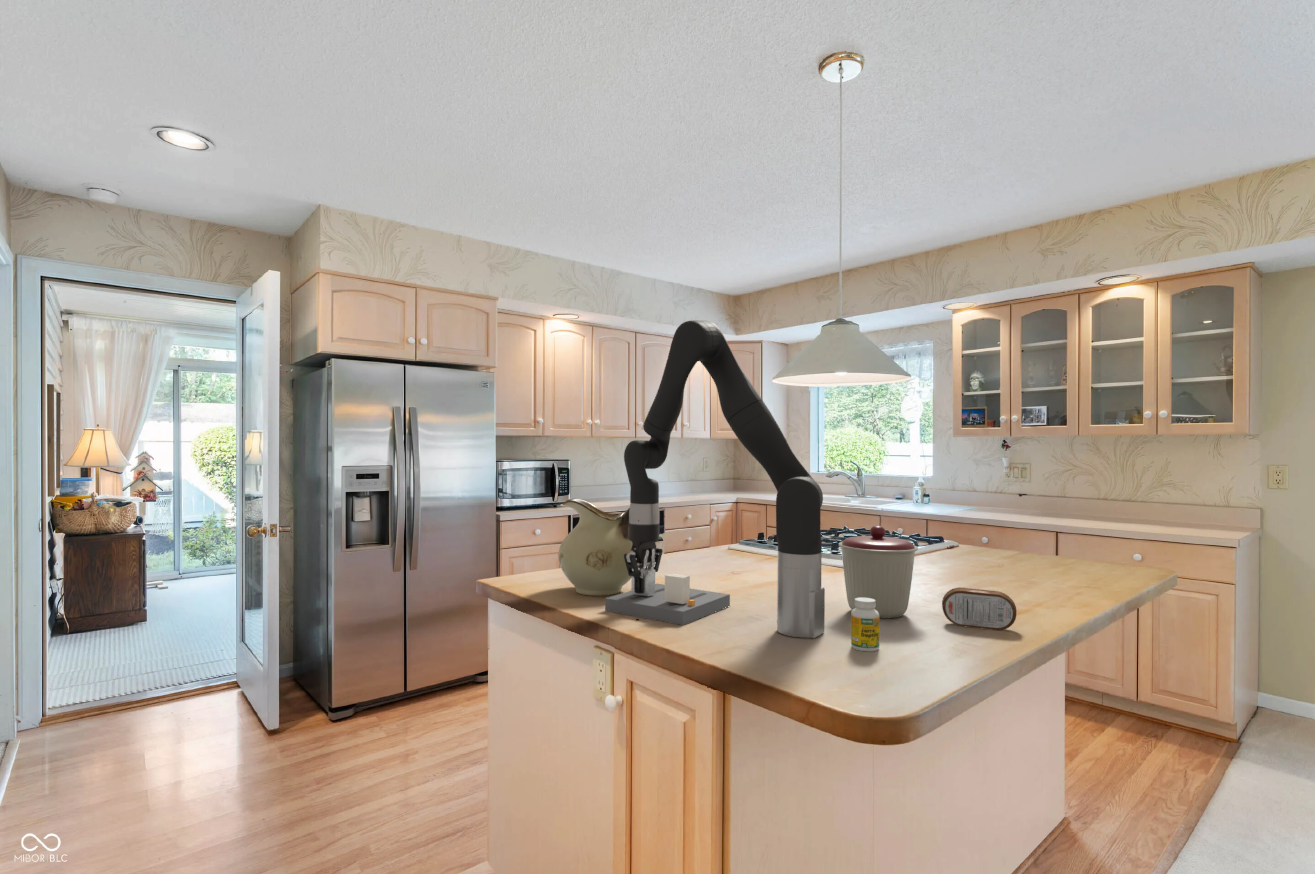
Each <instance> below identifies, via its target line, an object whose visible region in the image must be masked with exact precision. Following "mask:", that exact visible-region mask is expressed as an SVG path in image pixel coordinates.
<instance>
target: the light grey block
mask: <svg viewBox="0 0 1315 874" xmlns="http://www.w3.org/2000/svg"><path fill="white" fill-rule="evenodd" d="M638 570H639V573H640V568H638ZM632 571H633V569H632ZM643 578H644V584H643V593H642V594H638V593H635V590H634V577H633V576H632V578H631V588H630V589H631V590H630V591H631V594H637V595H643V596H651V595H654V594H655V584H656V572H655V569H648V567H647V568H645V569H644V577H643Z"/></svg>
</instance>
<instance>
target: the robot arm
mask: <svg viewBox="0 0 1315 874" xmlns="http://www.w3.org/2000/svg"><path fill="white" fill-rule="evenodd" d="M698 362H700V363H701V365H703V367H704V368H705V369H706V371H707V373H708V374H709V376H710V377H711V378H712V380H713V382H714V385H715V387H716V391H717V395H718V399H719V404H720V409H721V412H722V415H723V417H724V418H725V420H726V422H727V424H728V425H729V427H730V428H731V430H732V433H734V434H735V436H736V438H737V439H738V440H739V441H740V443H741V444H742V446H743V447H744V448H745V449H746V450H747V451H748V453H750V455H751V456H752V457H753V458H754V459H755V460H756V461H757V462H758V464H760V465H761V467H762V468H763V469H764V470H765V472H766V473H767V476H768V477H769V478H770V480H771V482H772V484H773V486H774V487H775V489H776V491H777V492H776V493H777V494H776V500H775V533H776V535H775V536H776V540H777V591H776V592H777V594H776V595H777V599H776V600H777V603H776V605H777V607H776V612H777V614H776V617H777V619H776V625H777V626H776V628H777V629H776V631H777V632H778V633H780V634H782V635H783V636H789V637H793V638H811V639H815V638H817V637H819V636H820V635H822V634H824V633H825V612H826V610H825V604H826V603H825V600H826V598H825V597H826V596H825V593H826V592H825V591H826V590H825V587H822V558H823V556H822V549H823V548H822V547H823V546H822V545H823V544H822V533H821V510H822V509H821V508H822V505H823V501H824V495H823V492H822V489H821V487H820V485H819V483H817V481H816V480H815V479H814V477H812V475H811V474H810V473H809V472H808V470H807V469H806V468H805V467H804V465H802V463H801V462H800V461H799V459H798V458H797V456H796V455H795V453H794V452H793V451H792V449H791V447H790V445H789V443H788V442H787V439H786V437H785V434H784V433H783V432H782V429H781V428H780V426H779V425H778V423H777V421H776V419H775V417H774V416H773V414H772V412H771V411H770V409H769V408H768V407H767V405H766V403H765V401H764V400H763V399H762V397H761V396H760V395H759V393H758V392H757V390H756V389H755V387H754V386H753V384H752V383H751V381H750V379H749V378H748V376H747V375H746V373H745V371H743V369H742V368H741V366H740V364H739V362H738V360H737V358H736V357H735V355H734V353H733V351H732V349H731V348H730V346H729V344H728V342H727V339H726V337H725V335H724V333H723V332H722V331H721V329H720V328H719V327H718V325H717V324H716V323H713V322H712V321H708V320H698V319H697V320H694V319H692V320H687V321H684V322H682V323H681V324H680V325H679V326H678V327H677V328H676V330H675V332H674V334H673V337H672V341H671V343H670V347H669V352H668V356H667V360H666V362H665V367H664V369H663V374H662V377H661V380H660V383H659V386H658V389H657V391H656V394H655V397H654V400H653V401H652V403H651V405H650V408H649V410H648V412H647V415H646V417H645V420H644V423H643V425H642V426H643V427H642V428H643V431H644V432H645V433H646V434H647V435H648V436H650V438H649V440H642V439H641V440H640V439H637V440H631V441H630V442H628V443H627V445H626V447H625V449H624V453H623V461H624V466H625V469H626V474H627V478H628V481H629V487H630V491H629V493H630V499H629V508H630V510H629V540H630V541H632V548H631V552H630V553H629V554H624V559H625V563H626V567H627V571H628V575H629V576H633V577H634V590H635V593H638V594H642V593H643V584H644V578H643V577H644V569H645V568H647V569H655V573H658V571H659V569H660V563H661V560H662V555H663V549H662V548H658V547H657V544H656V542H658V541H659V540H660V516H661V515H660V505H659V503H660V502H659V501H660V500H659V497H660V495H659V493H660V488H659V487H660V486H659V482H658V481H657V480H656V479H654V478H650V477H649V476H648V474H647V471H646V470H651V469H652V470H655V469H658V468H660V467H661V466H662V465H663V464H664V463H665V461H667V456H668V451H669V446H670V440H671V434H672V432H673V429H674V427H675V425H676V424H677V421H678V418H679V416H680V414H681V411H682V407H683V403H684V395H685V387H686V383H687V381H688V378H689V376H690V374H691V372H692V371H693V368H694V367H695V366H696V364H697V363H698ZM637 563H640V564H641V565H638V564H637ZM638 568H640V573H639V570H638ZM632 569H633V571H632Z"/></svg>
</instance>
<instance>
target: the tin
mask: <svg viewBox="0 0 1315 874" xmlns="http://www.w3.org/2000/svg"><path fill="white" fill-rule="evenodd" d="M941 608H942V611H943V614H944V616H945V617H946V619H947V620H948V621H949V622H950V623H952V624H954V625H956V626H959V627H964V626H967V627H968V628H973V627H974V628H973V629H975V628H976V629H981V628H983V629H984V630H990V629H991V630H992V631H1003V630H1007V629H1008V628H1010V627H1011V626H1012V625H1013V624H1014V623H1015V621H1016V620H1017V619H1016V618H1017V606H1016V603H1015V602H1014V600H1013V599H1012V598H1011V597H1010V596H1009V595H1007V593H1004V592H1002V591H998V590H988V589H979V588H970V587H969V588H968V587H960V586H959V587H954V588H952V589H951V588H950V589H949V590H948V591H946V592H945V594H944V595H943V598H942V601H941ZM967 627H966V628H967ZM983 629H982V630H983Z"/></svg>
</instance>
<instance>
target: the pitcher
mask: <svg viewBox="0 0 1315 874" xmlns="http://www.w3.org/2000/svg"><path fill="white" fill-rule="evenodd" d="M562 506H563V507H567V508H570V509H573V510H574V511H576V512H577V514H578V516H579V520H578V523H577V524H576V525H575V526H574V528H573V529H572V530H571V531H570V532H569V533H568V534H567V535H566V536H565V537H564V539H563V540H562V542H561V544H560V546H559V549H558V563H559V567H560V568H561V571H562V574H563V575H564V576H565V577H566V578H567V580H568V581H569V582H570V583H571V584H572V585H573V586H574V587H575V592H576V593H577V594H580V595H584V596H590V597H592V596H593V597H603V596H607V597H608V596H611V595H612V596H614V595H618V594H620V593H621V592H622V588H623V587H624V586H625V585H626V584H627V583H628V582H629V581H630V580H632V576H629V575H628V571H627V567H626V563H625V559H624V554H629V553H630V552H631V548H632V541H630V540H629V510H630V507H629V508H627V509H626V510H625V512H623V511H622V512H620V513H619V514H611V513H609V512H606V511H603V510H602V509H600V508H598V507H597V506H595V505H594V504H592V503H591V502H589V501H587V500H583V499H581V498H576V497H575V498H570V499H567V500H566V501H564V502H563V503H562ZM637 564H638V565H641V564H640V563H637Z"/></svg>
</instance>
